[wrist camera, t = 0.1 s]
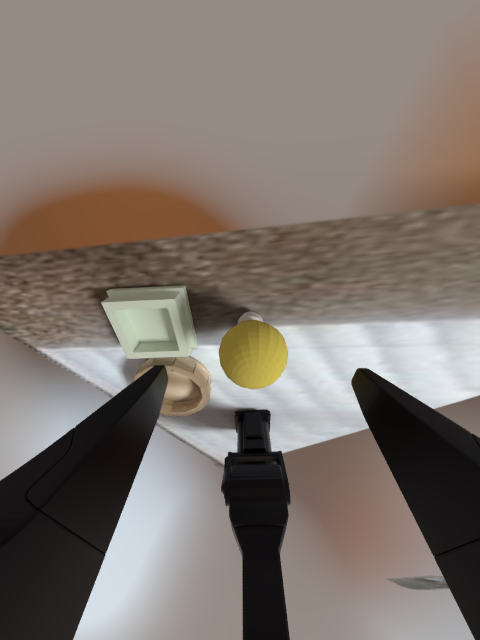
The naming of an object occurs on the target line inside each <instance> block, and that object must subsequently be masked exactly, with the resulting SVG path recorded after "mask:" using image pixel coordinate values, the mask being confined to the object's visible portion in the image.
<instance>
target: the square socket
mask: <svg viewBox="0 0 480 640" xmlns="http://www.w3.org/2000/svg"><path fill="white" fill-rule="evenodd" d="M106 292H107V294H108V296H109V298H107V299H105V300H104V301H102V302H101V304H102V306H103V308H104V310H105V312H106V314H107V316H108V318H109V320H110V323H111V325H112V327H113V329H114V331H115V333H116V335H117V337H118V339H119V342H120V344H121V346H122V348H123V350H124V352H125V354H126V356H127V358H128V359H136V358H164V357H189V355H190V352H191V350H195V349H197V347H198V344H197V339H196V334H195V329H194V325H193V320H192V315H191V310H190V305H189V301H188V296H187V291H186V286H185V285H181V286H160V287H139V288H118V289H109V290H108V291H106Z"/></svg>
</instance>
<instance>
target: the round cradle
mask: <svg viewBox="0 0 480 640" xmlns="http://www.w3.org/2000/svg"><path fill="white" fill-rule="evenodd" d="M155 365H165V366H166V370H167V374H168V384H167V388H166V392H165V396H164V399H163V403H162V407H161V410H160V413H161V414H164V415H168V416H189V415H191V414H194V413H196V412H198V411H201V410H202V409H203V408H204V407H205V405H206V404H207V402H208V401H209V398H210V393H211V376H210V374H209V371H208V370H207V368H206V367H205V366H204V365H203V364H202V363H201V362H199V361H198V360H196V359H194V358H193V357H190V356H189V357H164V358H149V359H148V360H147V361H146V362H145V363H144V364H143V365H142V366H141V367H140V369H139V370H138V372H137V373H136V375H135V378H134V381H135V380H136V379H138V378H139V377H140V376H142V375H143V374H144V373H145V372H147V371H148V370H149V369H151V368H152V367H153V366H155ZM134 381H133V382H134Z"/></svg>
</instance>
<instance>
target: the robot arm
mask: <svg viewBox="0 0 480 640" xmlns="http://www.w3.org/2000/svg"><path fill="white" fill-rule="evenodd" d="M351 383H352V387H353V390H354V392H355V395H356V397H357V400H358V403H359V405H360V408H361V410H362V413H363V415H364V418H365V420H366V422H367V424H368V426H369V428H370V430H371V432H372V434H373V436H374V438H375V440H376V442H377V444H378V446H379V448H380V450H381V452H382V454H383V456H384V458H385V460H386V461H387V464H388V466H389V468H390V470H391V472H392V474H393V476H394V478H395V480H396V482H397V484H398V486H399V488H400V490H401V492H402V494H403V496H404V498H405V500H406V502H407V504H408V506H409V508H410V510H411V512H412V514H413V516H414V518H415V520H416V522H417V524H418V526H419V528H420V530H421V532H422V534H423V536H424V538H425V540H426V542H427V544H428V546H429V548H430V550H431V552H432V554H433V556H434V558H435V560H436V562H437V564H438V566H439V568H440V570H441V572H442V574H443V576H444V578H445V580H446V582H447V584H448V586H449V588H450V590H451V592H452V594H453V596H454V598H455V600H456V602H457V604H458V606H459V608H460V610H461V612H462V614H463V616H464V618H465V620H466V622H467V624H468V626H469V628H470V630H471V633H472V635H473V637H474V639H475V640H480V438H479V437H477V436H476V435H474V434H471V433H470V432H469V431H468V430H466V429H464V428H463V427H461V426H459V425H458V424H456V423H454V422H453V421H451V420H450V419H448V418H447V417H445V416H443V415H442V414H440V413H439V412H437V411H435V410H434V409H432V408H430V407H429V406H427V405H426V404H424V403H422V402H421V401H419V400H418V399H416V398H414V397H413V396H411V395H410V394H408V393H406V392H405V391H403V390H401V389H400V388H398V387H397V386H395V385H393V384H392V383H390V382H389V381H387V380H385V379H384V378H382V377H381V376H379V375H377V374H376V373H374V372H373V371H371V370H369V369H367V368H358V369H357V370H356V372H355V374H354V376H353V378H352V382H351ZM167 384H168V374H167V370H166V366H165V365H155V366H153V367H152V368H151V369H149V370H148V371H147V372H145V373H144V374H143V375H142V376H140V377H139V378H138V379H136V380H135V381H134V382H133V383H131V384H130V385H129V386H127V387H126V388H125V389H123V390H122V391H121V392H120V393H118V394H117V395H116V396H114V397H113V398H112V399H110V400H109V401H108V402H107V403H105V404H104V405H103V406H101V407H100V408H99V409H97V411H95V412H94V413H92V414H91V415H90V416H89V417H87V418H86V419H85V420H83V421H82V422H81V423H80V424H78V425H77V426H76V427H75V428H73V429H71V430H70V431H69V432H68V433H66V434H65V435H64V436H62V437H61V438H60V439H58V440H57V441H56V442H54V443H53V444H52V445H50V446H49V447H48V448H46V449H45V450H44V451H42V452H41V453H39V454H38V455H37V456H35V457H34V458H32V459H31V460H30V461H28V462H27V463H25V464H24V465H23V466H21V467H20V468H19V469H17V470H15V471H14V472H13V473H11V474H10V475H8V476H7V477H5V478H4V479H2V480H1V481H0V640H73V638H74V635H75V633H76V630H77V628H78V625H79V622H80V620H81V617H82V615H83V612H84V609H85V607H86V604H87V602H88V599H89V596H90V594H91V591H92V589H93V586H94V583H95V581H96V578H97V576H98V573H99V570H100V568H101V565H102V563H103V560H104V557H105V553H106V551H107V549H108V547H109V544H110V541H111V539H112V536H113V534H114V531H115V528H116V526H117V523H118V520H119V518H120V515H121V513H122V510H123V508H124V505H125V503H126V500H127V497H128V495H129V492H130V490H131V487H132V484H133V482H134V479H135V477H136V474H137V471H138V469H139V466H140V464H141V461H142V458H143V456H144V453H145V451H146V448H147V445H148V443H149V440H150V438H151V435H152V432H153V430H154V427H155V425H156V422H157V419H158V417H159V414H160V410H161V407H162V403H163V399H164V396H165V392H166V388H167ZM270 415H271V414H270V411H244V412H235V423H236V432H237V433H238V444H237V453H232V452H228V456H227V457H226V458H225V466H224V474H223V480H222V486H221V491H222V493H223V494H224V498H225V503H226V506H229V517H230V521H231V526H232V531H233V533H234V536H235V539H236V542H237V544H238V547H239V549H240V552H241V555H242V558H243V640H290V638H289V630H288V621H287V613H286V604H285V595H284V587H283V578H282V570H281V561H280V551H281V547H282V543H283V539H284V535H285V531H286V526H287V521H288V507H287V505H290V490H289V483H288V478H287V474H286V469H285V465H284V461H283V456H282V452H281V451H278V452H272V451H271V443H270V435H269V432H270Z"/></svg>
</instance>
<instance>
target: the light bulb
mask: <svg viewBox="0 0 480 640" xmlns="http://www.w3.org/2000/svg"><path fill="white" fill-rule="evenodd" d="M287 356H288V350H287V346H286V343H285V340H284V338H283V336H282V335H281V334H280V332H279V331H278V330H277V329H275V328H274V327H272V326H270V325H269V324H267V323H264V322H263V320H262V318H261V317H260V316H259V315H258V314H256V313H255V312H252V311H249V312H246V313H244V314H243V315H242V316H241V317H240V318H239V320H238V325H236V326H235V327H233V328H232V329H230V330H229V331H228V332H227V333H226V334H225V336H224V337H223V338H222V341H221V345H220V348H219V357H220V364H221V367H222V369H223V370H224V372H225V374H226V376H227V377H228V378H229V379H230V380H232V381H233V382H234V383H235V384H237V385H239V386H241V387H244V388H249V389H259V388H263V387H266V386H268V385H270V384H272V383H274V382H275V381H276V380H277V379H278V378H279V377H280V376H281V374H282V372H283V371H284V369H285V367H286V364H287Z"/></svg>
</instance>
